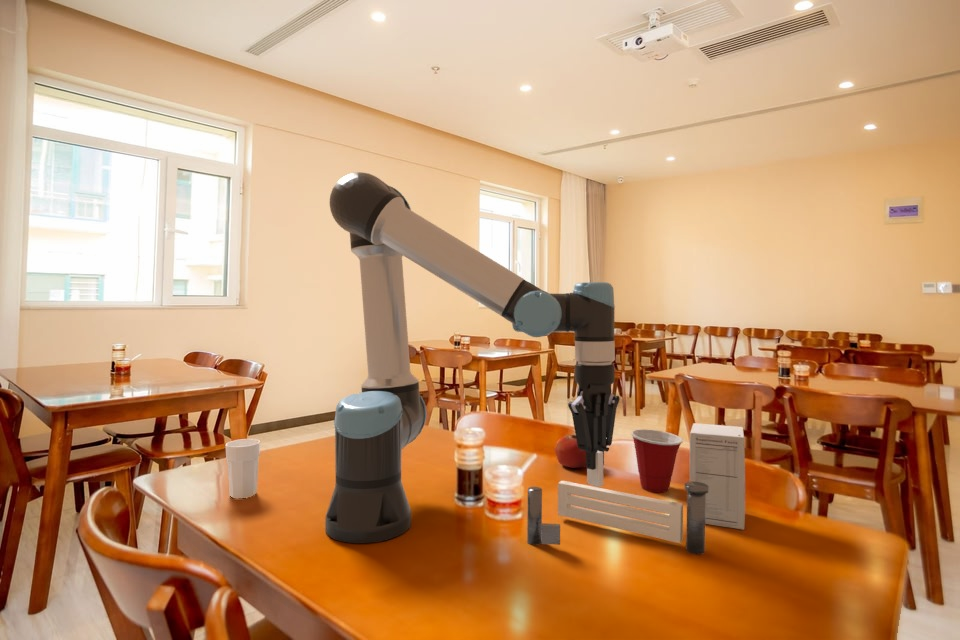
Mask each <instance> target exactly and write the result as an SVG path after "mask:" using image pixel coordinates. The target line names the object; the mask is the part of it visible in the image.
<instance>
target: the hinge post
mask: <svg viewBox="0 0 960 640" xmlns="http://www.w3.org/2000/svg"><path fill="white" fill-rule="evenodd" d="M708 488H709V486H708V485H706V484H704V483H701V482H690V481H686V482H684V490H685V491H686V492H687V493H686V535H685V536H686V542H685V543H686V545H685V546H686V547H685V550H686V551H687V552H688V553H691V554H693V555H697V556H698V555H704V554H705V553H706V524H705V507H706V493H708Z"/></svg>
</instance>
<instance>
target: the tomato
mask: <svg viewBox="0 0 960 640" xmlns="http://www.w3.org/2000/svg"><path fill="white" fill-rule="evenodd" d="M554 452H555V454H556V459H557V461H558V463H559V464H560V465H562V466H563V467H567V468H572V469H575V468H586V452H585V451H584V450H581V449H578V446H577V440H576V434H565V435H564V436H562V437H560V438H559V439H558V440H557V441H556V444H555V446H554Z"/></svg>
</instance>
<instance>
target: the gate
mask: <svg viewBox="0 0 960 640" xmlns="http://www.w3.org/2000/svg"><path fill="white" fill-rule="evenodd" d="M557 515H558V516H561V517H565V518H571V519H575V520H579V521H584V522H588V523H592V524H597V525H601V526H605V527H608V528H609V527H610V528H614V529H617V530H618V529H619V530H623V531H627V532H630V533H631V532H632V533H636V534H641V535H643V536H648V537H653V538H658V539H661V540H665V541H669V542H672V543H678V544H681V543H682V542H683V539H684V538H683V537H684V532H683V531H684V529H683V528H684V527H683V526H684V503H681V502H676V501H669V500H665V499H658V498H654V497H649V496H645V495H639V494H633V493H628V492H623V491H619V490H614V489H613V490H612V489H607V488H601V487H596V486H593V485H589V484H582V483H575V482H572V481H568V480H567V481H566V480H560V481H559V482H558V483H557Z"/></svg>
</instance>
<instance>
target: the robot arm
mask: <svg viewBox="0 0 960 640" xmlns="http://www.w3.org/2000/svg"><path fill="white" fill-rule="evenodd" d="M329 208H330V214H331V216H332V218H333V219H334V221H335V222H336V224H337V225H338V226H339V227H340V228H341V229H343V230H344V231H346V232H347V233H349V238H350V240H349V241H350V251H351V253H352V254H354V255H355V256H356V257H357V258H358V260H359V269H360V280H361V281H360V284H361V296H362V297H361V298H362V308H363V310H362V311H363V324H364V335H365V336H364V338H365V348H366V362H367V363H366V365H367V375H368V376H367V378H366V379H365V380H363V382H362V384H361V386H360V388H361V392H359V393H353V394H349V395H347V396H345V397H343V398H341V400H339V402H338V403H337V404H336V408H335V415H334V416H335V417H334V420H333V424H334V437H335V438H334V443H335V444H334V449H335V450H334V454H335V465H334V466H335V467H334V468H335V486H334V489H333V492H332V495H331V498H330V501H329V504H328V508H327V511H326V514H325V518H324V519H325V521H324V523H325V524H324V525H325V527H324V529H325V533H326V534H327V535H328V536H329V537H330V538H332V539H333V540H336V541H339V542H344V543H347V544H348V543H349V544H351V543H352V544H371V543H378V542H383V541H387V540H391V539H395V538H397V537H398V536H401V535H402V534H404V533H406V532H407V531H408V530H409V528H410V527H411V525H412V513H411V512H412V510H411V507H410V503H409V500H408V497H407V494H406V491H405V489H404V486H403V482H402V450H403V449H405V447H406V446H407V445H409V444H411V443H412V442H413V441H415V440H416V438H418V437H419V435H420V434H421V432H422V430H423V428H424V427H425V424H426V421H427V406H426V403H425V400H424V399H423V397H422V396H421V395H420V386H419V385H420V384H419V379H418V378H417V377H416V376H415V375H414V374H412V372H411V361H410V360H411V359H410V347H409V336H408V333H409V332H408V321H407V310H406V309H407V308H406V307H407V306H406V305H407V304H406V296H405V295H406V294H405V279H404V270H403V269H404V268H403V257H405V258H406V259H408V260H410V261H411V262H412V263H414V264H416V265H418V266H419V267H421V268H423V269H424V270H426V271H428V272H429V273H430V274H432V275H434V276H435V277H437V278H439V279H441V280H442V281H444V282H446V283H447V284H448V285H450V286H452V287H454V288H455V289H457V290H459V292H462V293H463V294H465V295H467V296H468V297H470V298H471V299H473V300H475V301H476V302H478V303H479V304H481V305H483V306H484V307H485V308H488V309H489V310H491V311H492V312H494V313H496V314H497V315H499V316H501V317H502V318H504V320H506V321H508V322H510V323H511V324H512V330H513V331H515V332H517V333H525V334H526V335H527V336H529V337H532V338H543V337H546V336H549V335H550V334H553V333H572V332H573V333H574V360H575V362H577V363H575V365H574V381H575V383H576V384H578V390H577V392H576V395H577V396H576V398H575V400H574V401H571V400H570V401H569V402H568V404H567V405H568V408H569V410H570V413H571V415H572V416H571V417H572V423H573V428H574V433H575V434H574V435H576V440H577V446H578V449H581V450H584V451H585V452H586V466H585V468H586V480H587V481H586V483H587V484H586V485H589V486H593V487H598V488H601V487H603V486H604V465H605V452H609V451H610V447H611V445H612V443H613V436H614V430H615V422H616V414H617V409H618V408H617V407H618V405H619V402H620V396H619V395H614V394H613V393H612V392H613V391H612V388H611V385H612V384H613V385H614V384H615V381H616V379H615V375H616V373H615V371H616V369H615V368H616V367H615V365H614V364H613V362H614V361H615V360H616V357H615V356H616V350H615V349H616V348H615V347H616V345H615V312H616V311H615V308H616V306H615V296H614V287H613V285H612V284H611V283H609V282H606V281H604V282H603V281H600V282H599V281H592V282H591V281H589V282H577V283H575V284H574V286H573V290H572V292H569V293H550V292H547V291H544V290H542V289H541V288H540V287H538V286H536V285H535V284H533V283H531V282H529V280H528V281H527V280H526V279H524V278H523V277H522V276H520V275H519V274H517V273H515V272H514V271H512V270H509V268H507V267H505V266H503V265H502V264H500V263H498V262H497V261H495V260H493V259H492V258H490V257H488V256H487V255H485V254H484V253H482V252H480V250H479V251H478V250H477V249H476V248H474V247H472V246H470V245H469V244H467V243H466V242H463V240H461V239H459V238H457V237H455V236H454V235H452V234H450V233H449V232H448V231H445V230H444V229H442V228H440V227H439V226H438V225H436V224H434V223H433V222H431V221H430V220H428V219H427V218H426V219H425V218H424V217H423V216H421V215H420V214H418V213H416V212H414V211H413V210H412V208H411V206H410V204H409V202H408V200H407V199H406V198H405V196H404V195H403V194H402V193H401V192H400V191H399V190H398V189H396V188H394V187H393V186H391V185H388V184H387V183H386V182H384V181H383V180H382V179H380V178H379V177H377V176H376V175H373V174H371V173H367V172H363V171H362V172H360V171H359V172H358V171H357V172H352V173H349V174H347V175H345V176H343V177H341V178H340V179H339V180H338V181H337V182H336V183H335V184H334V185H333V188H332V190H331V193H330V197H329ZM608 446H610V447H608Z"/></svg>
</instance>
